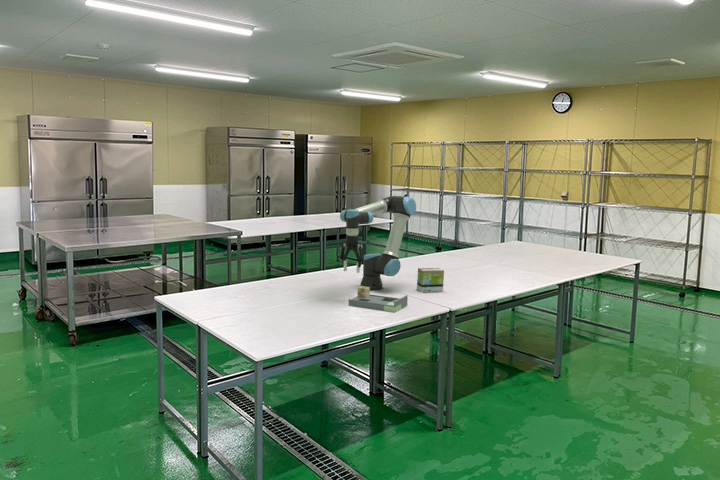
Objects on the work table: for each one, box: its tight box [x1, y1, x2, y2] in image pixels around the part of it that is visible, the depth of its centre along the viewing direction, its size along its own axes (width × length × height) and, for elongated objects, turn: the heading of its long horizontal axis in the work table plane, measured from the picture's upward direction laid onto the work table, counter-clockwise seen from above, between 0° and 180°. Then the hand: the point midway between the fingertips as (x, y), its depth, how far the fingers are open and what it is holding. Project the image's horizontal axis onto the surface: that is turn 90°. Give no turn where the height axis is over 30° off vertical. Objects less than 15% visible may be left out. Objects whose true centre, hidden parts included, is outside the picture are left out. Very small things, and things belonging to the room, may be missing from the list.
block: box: [356, 286, 371, 298], centre depth 339 cm, size 6×6×6 cm
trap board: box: [348, 293, 409, 313], centre depth 330 cm, size 30×18×6 cm, turn 63°
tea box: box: [416, 267, 445, 293], centre depth 370 cm, size 15×10×15 cm
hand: (351, 271), depth 342 cm, fingers open, 8 cm apart
